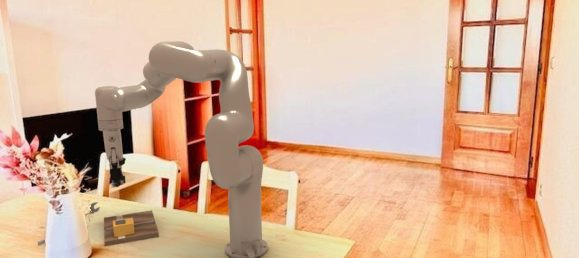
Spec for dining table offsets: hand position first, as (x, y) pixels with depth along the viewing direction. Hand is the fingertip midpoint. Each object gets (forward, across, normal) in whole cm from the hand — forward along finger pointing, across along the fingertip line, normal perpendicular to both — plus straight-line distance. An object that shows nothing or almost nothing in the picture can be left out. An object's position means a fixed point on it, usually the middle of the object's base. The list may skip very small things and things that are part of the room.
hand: (115, 177), depth 146 cm
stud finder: (+15, -12, -1) cm, 19 cm away
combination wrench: (+17, +10, +14) cm, 25 cm away
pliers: (+17, -2, +18) cm, 25 cm away
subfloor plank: (+17, -6, -3) cm, 18 cm away
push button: (+3, 0, 0) cm, 3 cm away
